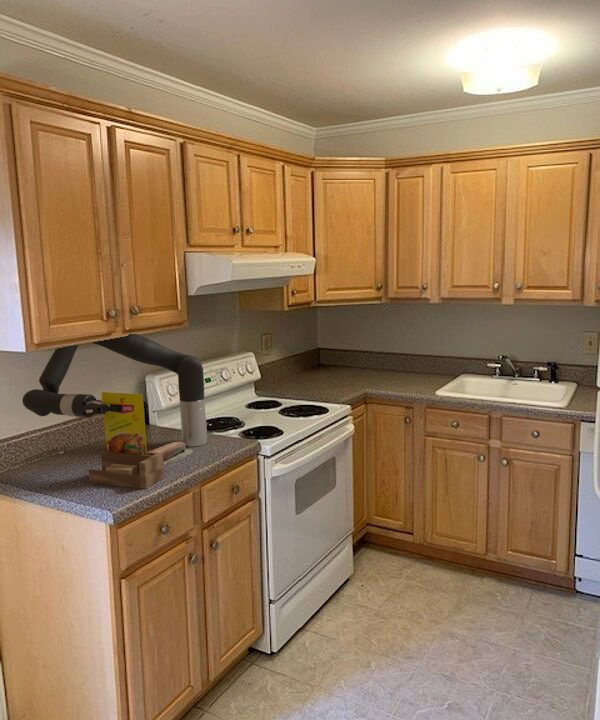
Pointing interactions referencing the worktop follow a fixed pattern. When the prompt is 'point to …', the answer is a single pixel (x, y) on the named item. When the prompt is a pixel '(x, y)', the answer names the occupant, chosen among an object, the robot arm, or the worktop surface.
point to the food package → (125, 424)
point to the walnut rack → (147, 469)
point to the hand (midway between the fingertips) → (123, 408)
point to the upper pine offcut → (123, 468)
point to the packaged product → (172, 452)
